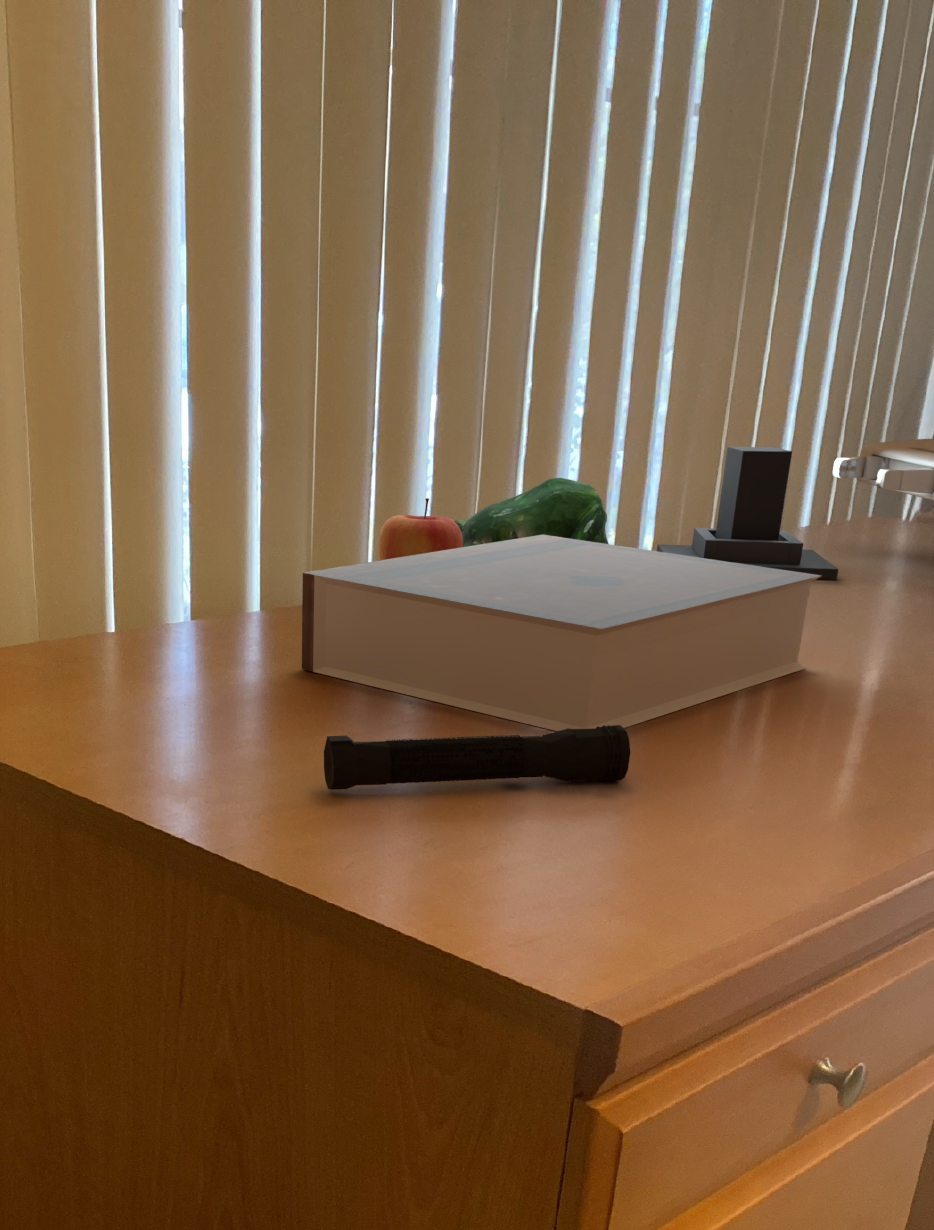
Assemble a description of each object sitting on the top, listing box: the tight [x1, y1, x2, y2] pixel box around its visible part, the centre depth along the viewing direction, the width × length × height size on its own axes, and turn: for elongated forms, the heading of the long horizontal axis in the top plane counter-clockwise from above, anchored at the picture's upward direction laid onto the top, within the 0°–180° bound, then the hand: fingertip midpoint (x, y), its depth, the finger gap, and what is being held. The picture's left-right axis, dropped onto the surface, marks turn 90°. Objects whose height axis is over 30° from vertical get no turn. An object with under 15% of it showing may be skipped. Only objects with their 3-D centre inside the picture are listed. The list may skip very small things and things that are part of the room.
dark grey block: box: [715, 446, 793, 541], centre depth 143 cm, size 5×4×10 cm
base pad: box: [656, 527, 839, 581], centre depth 146 cm, size 16×12×3 cm
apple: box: [377, 497, 463, 561], centre depth 126 cm, size 7×7×8 cm
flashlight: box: [323, 725, 632, 791], centre depth 79 cm, size 3×16×3 cm, turn 102°
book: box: [301, 535, 822, 732], centre depth 103 cm, size 24×28×7 cm
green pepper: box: [453, 477, 609, 547], centre depth 136 cm, size 14×9×15 cm
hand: (857, 473), depth 144 cm, fingers open, 8 cm apart
